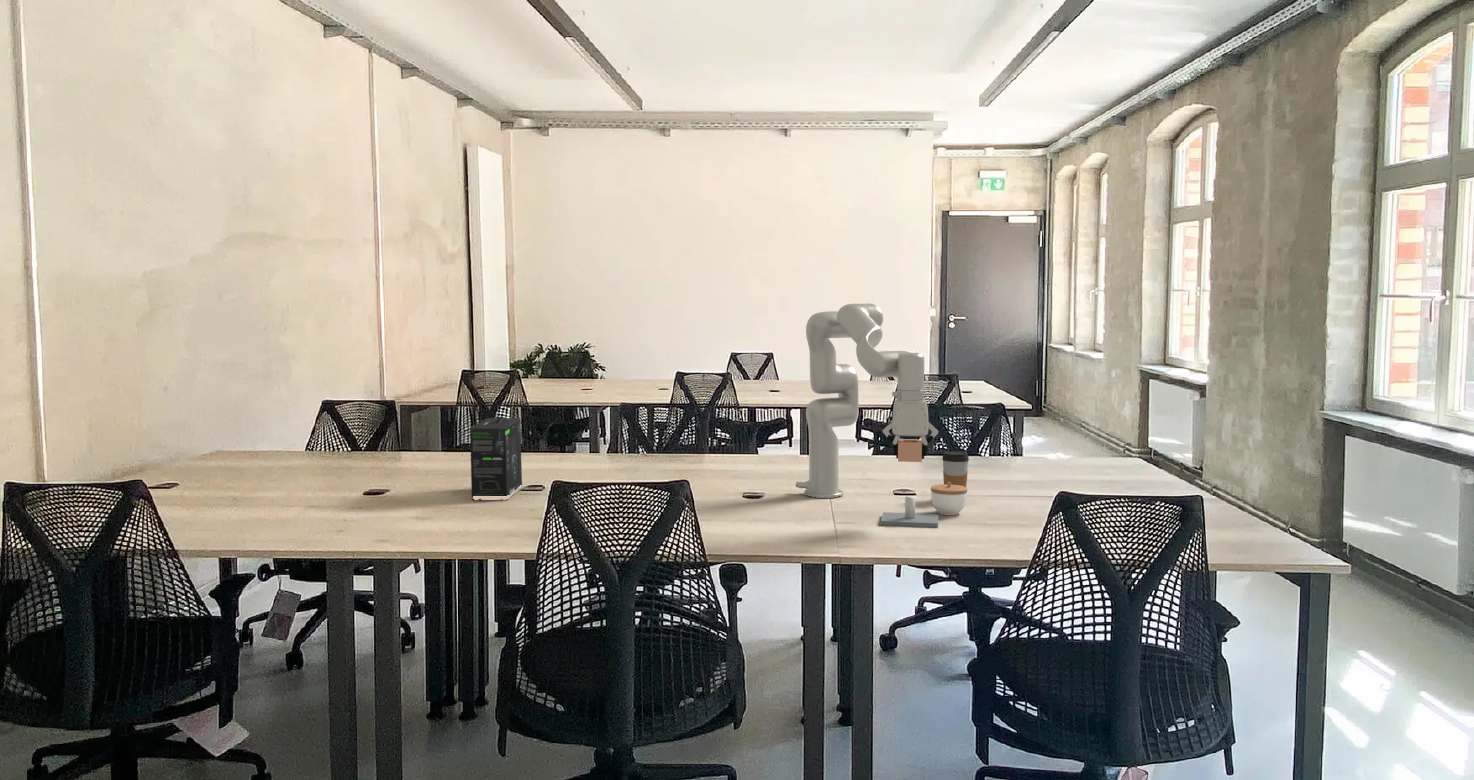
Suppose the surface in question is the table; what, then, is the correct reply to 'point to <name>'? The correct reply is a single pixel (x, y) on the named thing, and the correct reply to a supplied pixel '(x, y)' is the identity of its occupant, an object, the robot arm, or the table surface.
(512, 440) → the headset box
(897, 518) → the board
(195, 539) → the table surface
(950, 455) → the coffee cup
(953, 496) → the lidded jar
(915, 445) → the collar
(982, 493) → the table surface
